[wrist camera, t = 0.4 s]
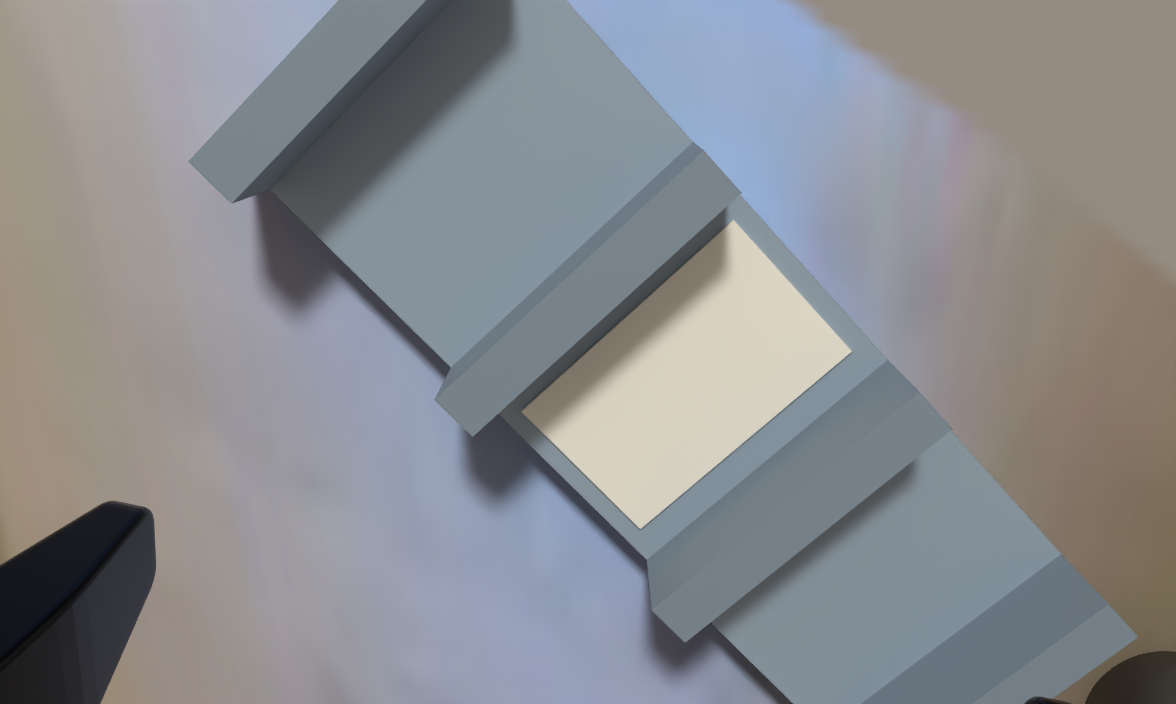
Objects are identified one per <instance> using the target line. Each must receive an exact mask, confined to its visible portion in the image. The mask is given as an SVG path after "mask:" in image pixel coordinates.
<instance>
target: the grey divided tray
mask: <svg viewBox="0 0 1176 704" xmlns="http://www.w3.org/2000/svg"><path fill="white" fill-rule="evenodd" d="M188 162H189V163H190V164H191V165H192V166H193V167H194V168H195V169H196V170H198V171H199V172H200V173H201V174H202V175H203V176H204V177H205V178H206V179H207V180H208V181H209V182H210V183H211V184H212V185H213V186H214V187H215V188H216V189H217V190H218V191H219V192H220V193H221V194H222V195H223V196H224V197H225V198H226V199H227V200H228V201H230V202H231V203H235V202H237V201H240V200H243V199H246V198H248V197H251V196H254V195H257V194H259V193H262V192H265V191H268V190H271V191H272V192H273V193H274V194H275V195H276V196H277V197H278V198H279V199H280V200H281V201H282V202H283V203H284V204H285V205H286V206H287V207H288V208H289V209H290V210H291V211H292V212H293V213H294V214H295V215H296V216H297V217H298V218H299V219H300V220H301V221H302V222H303V223H304V224H305V225H306V226H307V227H308V228H309V229H310V230H311V231H312V232H313V233H314V234H315V235H316V236H317V237H319V238H320V239H321V240H322V241H323V242H324V243H325V244H326V245H327V246H328V247H329V248H330V249H331V250H332V251H333V252H334V253H335V254H336V255H337V256H338V257H339V258H340V259H341V260H342V261H343V262H344V263H345V264H346V265H347V266H348V267H349V268H350V269H351V270H352V271H353V272H354V273H355V274H356V275H357V276H358V277H359V278H360V279H361V280H362V281H363V282H364V283H365V284H366V285H367V286H368V287H369V288H370V289H371V290H372V291H373V292H375V293H376V294H377V295H378V296H379V297H380V298H381V299H382V300H383V301H384V302H385V303H386V304H387V305H388V306H389V307H390V308H391V309H392V310H393V311H394V312H395V313H396V314H397V315H398V316H399V317H400V318H401V319H402V320H403V321H404V322H405V323H406V324H407V325H408V326H409V327H410V328H411V329H412V330H413V331H414V332H415V333H416V334H417V335H418V336H419V337H420V338H421V339H422V340H423V341H424V342H425V343H426V344H427V345H428V346H429V347H431V348H432V349H433V350H434V351H435V352H436V353H437V354H438V355H439V356H440V357H441V358H442V359H443V360H444V361H445V362H446V363H447V364H448V365H449V366H450V367H451V368H450V370H449V372H448V374H447V376H446V378H445V380H444V382H443V384H442V386H441V388H440V390H439V392H438V394H437V396H436V398H435V401H436V402H437V403H438V404H439V405H440V406H441V407H442V408H443V409H444V410H445V411H446V412H447V413H448V414H449V415H450V416H451V417H452V418H454V419H455V420H456V421H457V422H458V423H459V424H460V425H461V426H462V427H463V428H464V429H465V430H466V431H467V432H468V433H469V434H470V435H471V436H472V437H473V436H474V435H475V434H476V433H477V432H479V431H480V430H481V429H482V428H483V427H484V426H485V425H486V424H487V423H489V422H490V421H491V420H492V419H493V418H494V417H495V416H496V415H497V414H499V415H500V416H501V417H502V418H503V419H504V420H505V421H506V422H507V423H508V424H509V425H510V426H511V427H512V428H513V429H514V430H515V431H516V432H517V433H518V434H519V435H520V436H521V437H522V438H523V439H524V440H525V441H526V442H527V443H528V444H529V445H530V446H531V447H532V448H533V449H534V450H535V451H536V452H537V453H538V454H539V455H540V456H541V457H543V458H544V459H545V460H546V461H547V462H548V463H549V464H550V465H551V466H552V467H553V468H554V469H555V470H556V471H557V472H558V473H559V474H560V475H561V476H562V477H563V478H564V479H565V480H566V481H567V482H568V483H569V484H570V485H571V486H572V487H573V488H574V489H575V490H576V491H577V492H578V493H579V494H580V495H581V496H582V497H583V498H584V499H585V500H586V501H587V502H588V503H589V504H590V505H591V506H592V507H593V508H594V509H595V510H596V511H597V512H599V513H600V514H601V515H602V516H603V517H604V518H605V519H606V520H607V521H608V522H609V523H610V524H611V525H612V526H613V527H614V528H615V529H616V530H617V531H618V532H619V533H620V534H621V535H622V536H623V537H624V538H625V539H626V540H627V541H628V542H629V543H630V544H631V545H632V546H633V547H634V548H635V549H636V550H637V551H638V552H639V553H640V554H641V555H642V556H643V557H644V558H645V559H646V560H647V568H648V579H649V590H650V600H651V610H652V611H653V612H654V613H655V614H656V615H657V616H658V617H659V618H660V619H661V620H662V621H663V622H664V623H665V624H666V625H667V626H668V627H669V628H670V629H671V630H672V631H673V632H674V633H675V634H676V635H677V636H679V637H680V638H681V639H682V640H683V641H684V642H685V643H686V642H687V641H688V640H689V639H691V638H692V637H693V636H694V635H696V634H697V633H698V632H699V631H701V630H702V629H703V628H704V627H706V626H707V625H708V624H709V623H712V624H713V625H714V626H715V627H716V628H717V629H718V630H719V631H720V632H721V633H722V634H723V635H724V636H725V637H726V638H727V639H728V640H729V641H730V642H731V643H732V644H733V645H734V646H735V647H736V648H737V649H738V650H739V651H740V652H741V653H742V654H743V655H744V656H745V657H746V658H747V659H748V660H749V661H750V662H751V663H752V664H753V665H754V666H755V667H756V668H757V669H758V670H759V671H760V672H761V673H762V674H763V675H764V676H765V677H766V678H768V679H769V680H770V681H771V682H772V683H773V684H774V685H775V686H776V687H777V688H778V689H779V690H780V691H781V692H782V693H783V694H784V695H785V696H786V697H787V698H788V699H789V700H790V701H791V702H792V703H793V704H1024V703H1025V702H1026V701H1027V700H1028V699H1030V698H1032V697H1035V696H1041V697H1045V698H1050V699H1052V698H1054V697H1055V696H1057V695H1058V694H1059V693H1061V692H1062V691H1064V690H1065V689H1066V688H1068V687H1069V686H1071V685H1072V684H1073V683H1075V682H1076V681H1078V680H1079V679H1080V678H1082V677H1083V676H1085V675H1086V674H1087V673H1089V672H1090V671H1092V670H1093V669H1095V668H1096V667H1097V666H1099V665H1100V664H1102V663H1103V662H1104V661H1106V660H1107V659H1109V658H1110V657H1111V656H1113V655H1114V654H1116V653H1117V652H1118V651H1120V650H1121V649H1123V648H1124V647H1125V646H1127V645H1128V644H1130V643H1131V642H1132V641H1134V640H1135V639H1137V638H1138V636H1137V635H1136V634H1135V633H1134V632H1133V631H1132V630H1131V628H1130V627H1129V626H1128V625H1127V624H1126V623H1125V622H1124V621H1123V619H1122V618H1121V617H1120V616H1119V615H1118V614H1117V613H1116V612H1115V610H1114V609H1113V608H1112V607H1111V606H1110V605H1109V604H1108V603H1107V602H1106V601H1105V600H1104V599H1103V597H1102V596H1101V595H1100V594H1099V593H1098V592H1097V591H1096V590H1095V589H1094V588H1093V587H1092V586H1091V585H1090V584H1089V583H1088V582H1087V581H1086V580H1085V579H1084V577H1083V576H1082V575H1081V574H1080V573H1079V572H1078V571H1077V570H1076V569H1075V568H1074V567H1073V566H1072V565H1071V564H1070V563H1069V562H1068V561H1067V560H1066V559H1065V558H1064V556H1063V555H1062V554H1061V553H1060V552H1059V551H1058V550H1057V549H1056V548H1055V547H1054V545H1053V544H1052V543H1051V542H1050V541H1049V540H1048V539H1047V538H1046V536H1045V535H1044V534H1043V533H1042V532H1041V531H1040V530H1039V529H1038V528H1037V526H1036V525H1035V524H1034V523H1033V522H1032V521H1031V520H1030V519H1029V517H1028V516H1027V515H1026V514H1025V513H1024V512H1023V511H1022V510H1021V509H1020V507H1019V506H1018V505H1017V504H1016V503H1015V502H1014V501H1013V500H1012V498H1011V497H1010V496H1009V495H1008V494H1007V493H1006V492H1005V491H1004V489H1003V488H1002V487H1001V486H1000V485H999V484H998V483H997V482H996V481H995V479H994V478H993V477H992V476H991V475H990V474H989V473H988V472H987V470H986V469H985V468H984V467H983V466H982V465H981V464H980V463H979V462H978V460H977V459H976V458H975V457H974V456H973V455H972V454H971V453H970V451H969V450H968V449H967V448H966V447H965V446H964V445H963V444H962V443H961V441H960V440H959V439H958V438H957V437H956V436H955V435H954V434H953V432H952V431H951V430H952V428H951V427H950V426H949V425H948V423H947V422H946V421H945V420H944V419H943V418H942V417H941V416H940V415H939V413H938V412H937V411H936V410H935V409H934V408H933V407H932V406H931V404H930V403H929V402H928V401H927V400H926V399H925V398H924V397H923V395H922V394H921V393H920V392H919V391H918V390H917V389H916V388H915V387H914V386H913V385H912V384H911V383H910V382H909V381H908V380H907V379H906V378H905V377H904V376H903V375H902V374H901V373H900V372H899V371H898V370H897V369H896V368H895V367H894V366H893V365H892V364H891V363H890V362H889V361H888V360H887V359H886V357H885V356H884V355H883V354H882V353H881V352H880V351H879V350H878V349H877V347H876V346H875V345H874V344H873V343H872V342H871V341H870V340H869V338H868V337H867V336H866V335H865V334H864V333H863V332H862V331H861V330H860V328H859V327H858V326H857V325H856V324H855V323H854V322H853V321H852V319H851V318H850V317H849V316H848V315H847V314H846V313H845V312H844V310H843V309H842V308H841V307H840V306H839V305H838V304H837V303H836V302H835V300H834V299H833V298H832V297H831V296H830V295H829V294H828V293H827V291H826V290H825V289H824V288H823V287H822V286H821V285H820V284H819V283H818V281H817V280H816V279H815V278H814V277H813V276H812V275H811V274H810V272H809V271H808V270H807V269H806V268H805V267H804V266H803V265H802V264H801V262H800V261H799V260H798V259H797V258H796V257H795V256H794V255H793V253H792V252H791V251H790V250H789V249H788V248H787V247H786V246H785V244H784V243H783V242H782V241H781V240H780V239H779V238H778V237H777V236H776V234H775V233H774V232H773V231H772V230H771V229H770V228H769V227H768V225H767V224H766V223H765V222H764V221H763V220H762V219H761V218H760V217H759V215H758V214H757V213H756V212H755V211H754V210H753V209H752V208H751V206H750V205H749V204H748V203H747V202H746V201H745V200H744V199H743V198H742V196H741V195H740V194H741V192H740V191H739V189H738V188H737V187H736V186H735V185H734V184H733V183H732V182H731V180H730V179H729V178H728V177H727V176H726V175H725V174H724V173H723V172H722V170H721V169H720V168H719V167H718V166H717V165H716V164H715V163H714V161H713V160H712V159H711V158H710V157H709V156H708V155H707V154H706V152H705V151H704V150H702V149H701V148H700V147H699V146H697V145H696V144H695V143H694V142H692V140H691V139H690V138H689V137H688V136H687V135H686V134H685V133H684V131H683V130H682V129H681V128H680V127H679V126H678V125H677V124H676V123H675V121H674V120H673V119H672V118H671V117H670V116H669V115H668V114H667V112H666V111H665V110H664V109H663V108H662V107H661V106H660V105H659V104H658V102H657V101H656V100H655V99H654V98H653V97H652V96H651V95H650V93H649V92H648V91H647V90H646V89H645V88H644V87H643V86H642V85H641V83H640V82H639V81H638V80H637V79H636V78H635V77H634V76H633V74H632V73H631V72H630V71H629V70H628V69H627V68H626V67H625V65H624V64H623V63H622V62H621V61H620V60H619V59H618V58H617V57H616V55H615V54H614V53H613V52H612V51H611V50H610V49H609V48H608V46H607V45H606V44H605V43H604V42H603V41H602V40H601V39H600V38H599V36H598V35H597V34H596V33H595V32H594V31H593V30H592V29H591V27H590V26H589V25H588V24H587V23H586V22H585V21H584V20H583V19H582V17H581V16H580V15H579V14H578V13H577V12H576V11H575V10H574V8H573V7H572V6H571V5H570V4H569V3H568V2H567V1H566V0H339V1H338V2H337V3H336V4H335V5H334V6H333V7H332V8H331V9H330V10H329V11H328V12H327V14H326V15H325V16H324V17H323V18H322V19H321V20H320V21H319V22H318V23H317V24H316V25H315V26H314V27H313V29H312V30H311V31H310V32H309V33H308V34H307V35H306V36H305V37H304V38H303V39H302V40H301V41H300V42H299V44H298V45H297V46H296V47H295V48H294V49H293V50H292V51H291V52H290V53H289V54H288V55H287V56H286V57H285V59H284V60H283V61H282V62H281V63H280V64H279V65H278V66H277V67H276V68H275V69H274V70H273V71H272V72H271V74H270V75H269V76H268V77H267V78H266V79H265V80H264V81H263V82H262V83H261V84H260V85H259V86H258V87H257V89H256V90H255V91H254V92H253V93H252V94H251V95H250V96H249V97H248V98H247V99H246V100H245V101H244V102H243V104H242V105H241V106H240V107H239V108H238V109H237V110H236V111H235V112H234V113H233V114H232V115H231V116H230V117H229V119H228V120H227V121H226V122H225V123H224V124H223V125H222V126H221V127H220V128H219V129H218V130H217V131H216V132H215V134H214V135H213V136H212V137H211V138H210V139H209V140H208V141H207V142H206V143H205V144H204V145H203V146H202V148H201V149H200V150H199V151H198V152H197V153H196V154H195V155H194V156H193V157H192V158H191V159H190V160H189V161H188Z"/></svg>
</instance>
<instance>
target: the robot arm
mask: <svg viewBox="0 0 1176 704" xmlns="http://www.w3.org/2000/svg"><path fill="white" fill-rule="evenodd" d="M155 572H156V551H155V530H154V518H153V514H152V512H151V511H150V510H149V509H148V508H146V507H142V506H137V505H133V504H128V503H123V502H118V501H108V502H105V503H103V504H101V505H99V506H97V507H95V508H94V509H92V510H91V511H89V512H87V513H86V514H84V515H82V516H81V517H79V518H77V519H76V520H74V521H72V522H71V523H69V524H67V525H66V526H64V527H62V528H61V529H59V530H57V531H56V532H54V533H52V534H51V535H49V536H47V537H46V538H44V539H43V540H41V541H39V542H38V543H36V544H34V545H33V546H31V547H29V548H28V549H26V550H24V551H23V552H21V553H19V554H18V555H16V556H14V557H13V558H11V559H9V560H8V561H6V562H4V563H3V564H1V565H0V704H100V703H101V701H102V699H103V696H104V694H105V692H106V689H107V687H108V685H109V683H110V680H111V678H112V676H113V674H114V671H115V669H116V667H117V664H118V662H119V660H120V658H121V655H122V653H123V651H124V649H125V646H126V644H127V642H128V640H129V637H130V635H131V633H132V630H133V628H134V626H135V624H136V621H137V619H138V617H139V615H140V612H141V610H142V608H143V605H144V603H145V601H146V599H147V596H148V594H149V592H150V589H151V587H152V584H153V581H154V577H155ZM1024 704H1071V703H1068V702H1064V701H1060V700H1055V699H1050V698H1045V697H1041V696H1035V697H1032V698H1030V699H1028V700H1027V701H1026V702H1025V703H1024Z"/></svg>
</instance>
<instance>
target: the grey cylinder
mask: <svg viewBox="0 0 1176 704" xmlns="http://www.w3.org/2000/svg"><path fill="white" fill-rule="evenodd" d="M1086 704H1176V652H1169V651H1160V652H1151V653H1146V654H1142V655H1138V656H1135V657H1133V658H1130V659H1128V660H1126V661H1124V662H1122V663H1120V664H1118V665H1117V666H1115V667H1114V668H1112V669H1111V670H1110V671H1109V672H1107V673H1106V674H1105V675H1104V676H1103V677H1102V678H1101V679H1100V680H1099V681H1098V683H1097V684H1096V685H1095V686H1094V688H1093V689H1092V691H1091V693H1090V694H1089V697H1088V699H1087V701H1086Z"/></svg>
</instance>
